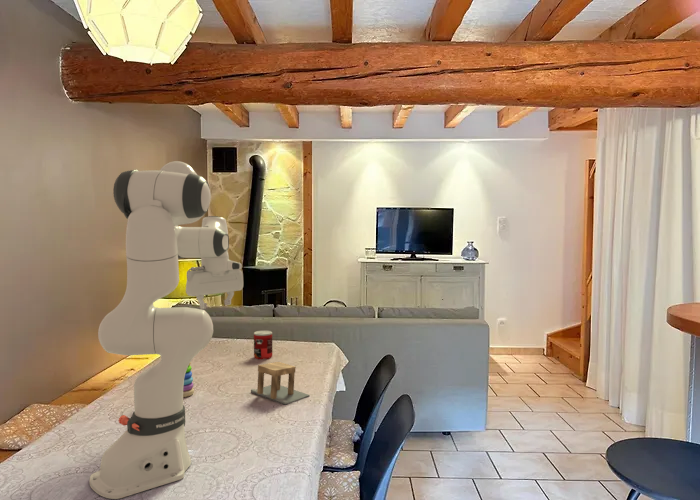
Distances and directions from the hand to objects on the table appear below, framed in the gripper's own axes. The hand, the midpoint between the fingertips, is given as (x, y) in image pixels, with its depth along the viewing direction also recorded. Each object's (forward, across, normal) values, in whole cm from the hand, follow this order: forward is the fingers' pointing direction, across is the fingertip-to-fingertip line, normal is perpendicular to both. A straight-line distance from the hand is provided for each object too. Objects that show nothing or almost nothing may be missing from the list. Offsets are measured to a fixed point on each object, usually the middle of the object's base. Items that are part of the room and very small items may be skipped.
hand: (215, 306), depth 167 cm
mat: (+31, +16, -13) cm, 37 cm away
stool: (+25, +10, -13) cm, 30 cm away
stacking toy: (+31, -6, +12) cm, 34 cm away
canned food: (+31, +42, +28) cm, 59 cm away
